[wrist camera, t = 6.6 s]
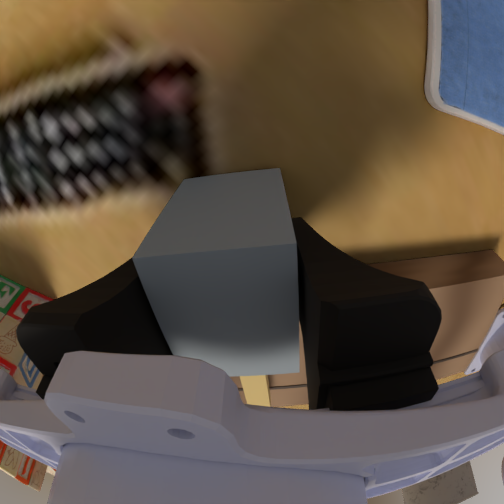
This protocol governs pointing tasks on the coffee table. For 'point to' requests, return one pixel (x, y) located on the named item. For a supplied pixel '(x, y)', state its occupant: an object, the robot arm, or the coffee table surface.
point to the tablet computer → (467, 60)
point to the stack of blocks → (19, 374)
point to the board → (452, 308)
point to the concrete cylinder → (443, 487)
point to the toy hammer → (227, 276)
